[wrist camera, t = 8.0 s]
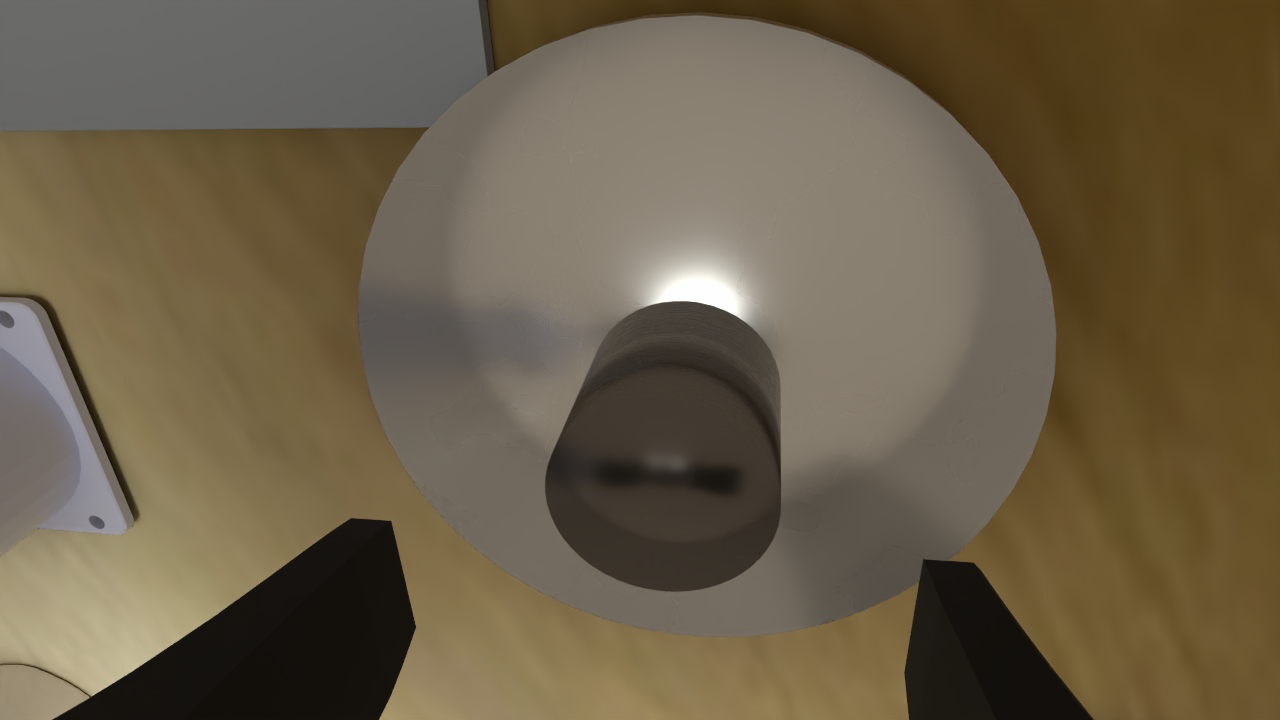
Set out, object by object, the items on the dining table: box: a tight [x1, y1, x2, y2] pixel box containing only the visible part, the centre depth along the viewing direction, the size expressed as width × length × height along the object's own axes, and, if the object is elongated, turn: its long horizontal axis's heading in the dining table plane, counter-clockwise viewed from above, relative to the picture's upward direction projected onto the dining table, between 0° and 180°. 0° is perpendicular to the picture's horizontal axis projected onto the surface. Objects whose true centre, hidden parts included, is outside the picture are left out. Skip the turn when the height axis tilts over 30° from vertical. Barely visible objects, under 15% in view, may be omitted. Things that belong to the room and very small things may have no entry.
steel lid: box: [358, 12, 1056, 637], centre depth 14 cm, size 13×13×4 cm
